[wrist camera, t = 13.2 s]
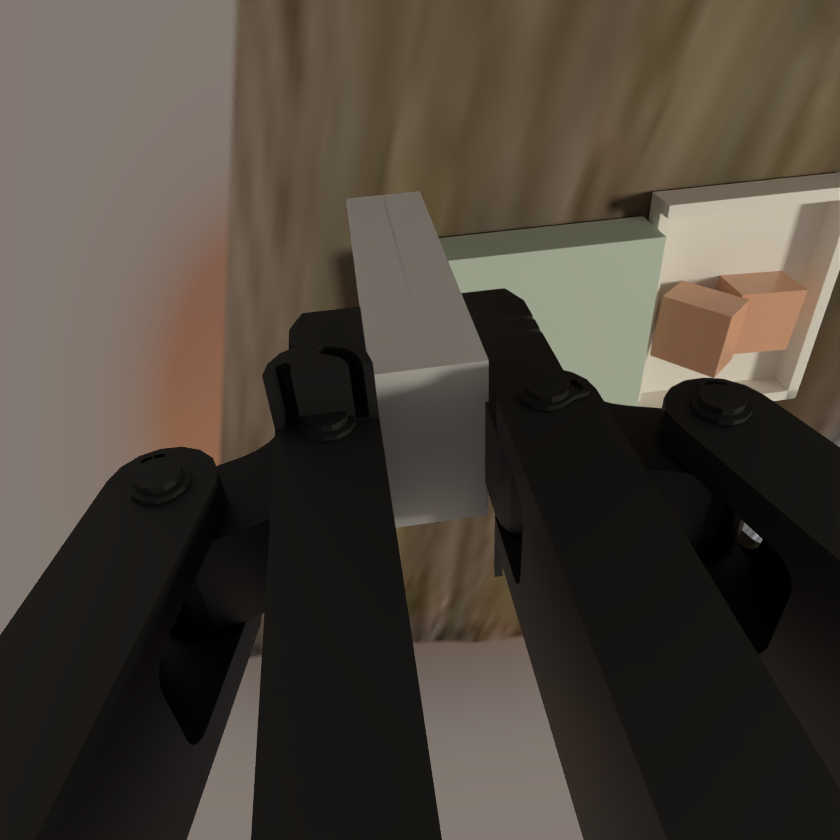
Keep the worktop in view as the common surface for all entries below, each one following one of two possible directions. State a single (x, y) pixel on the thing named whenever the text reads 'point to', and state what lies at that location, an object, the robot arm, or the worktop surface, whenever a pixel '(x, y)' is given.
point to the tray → (749, 266)
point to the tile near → (698, 327)
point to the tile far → (765, 308)
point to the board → (576, 291)
